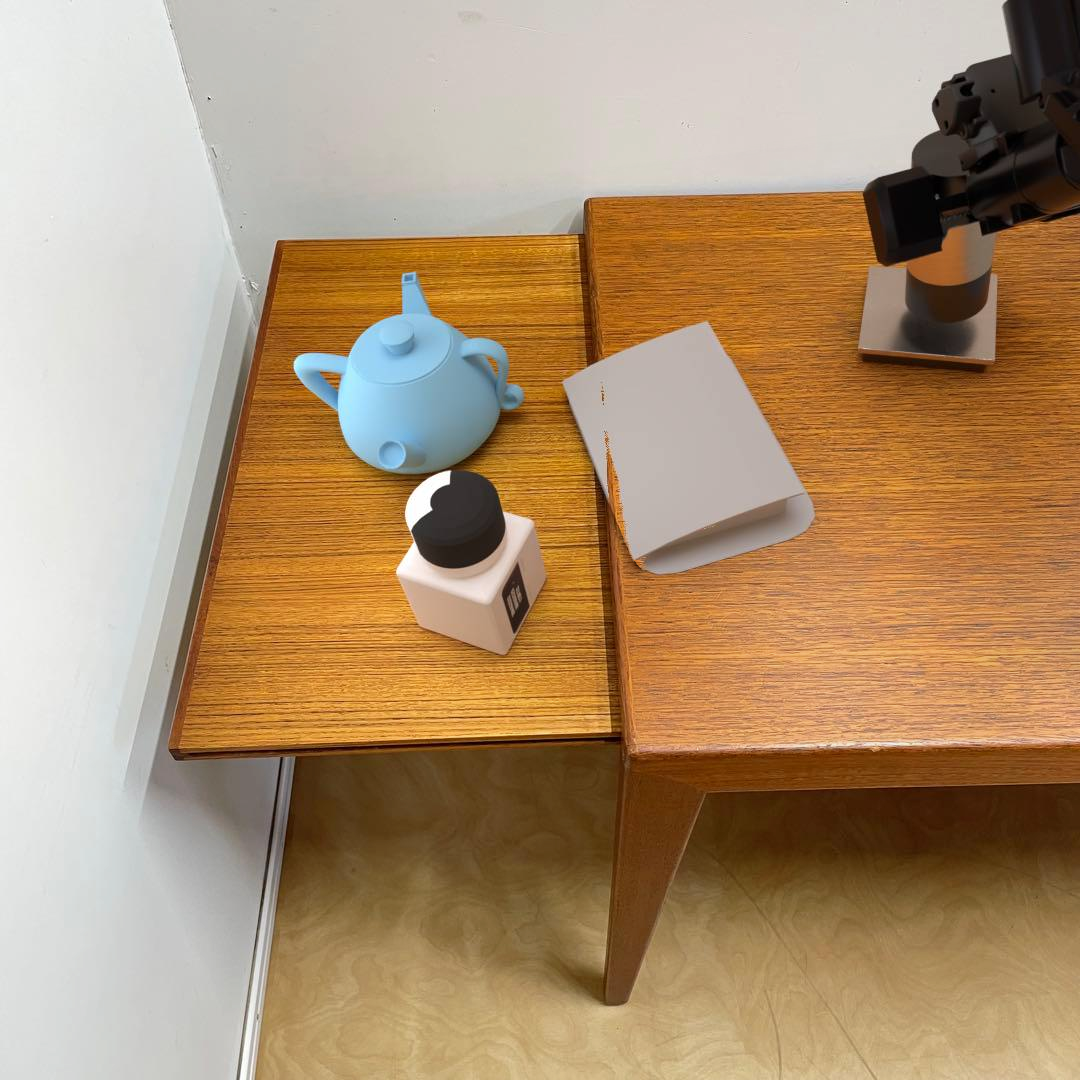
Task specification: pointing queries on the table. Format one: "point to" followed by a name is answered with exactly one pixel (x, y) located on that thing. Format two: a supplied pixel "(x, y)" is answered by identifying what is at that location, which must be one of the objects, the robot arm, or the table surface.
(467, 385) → the teapot
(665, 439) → the book
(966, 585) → the table surface
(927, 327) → the platform
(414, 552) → the container
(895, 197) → the robot arm
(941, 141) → the can
